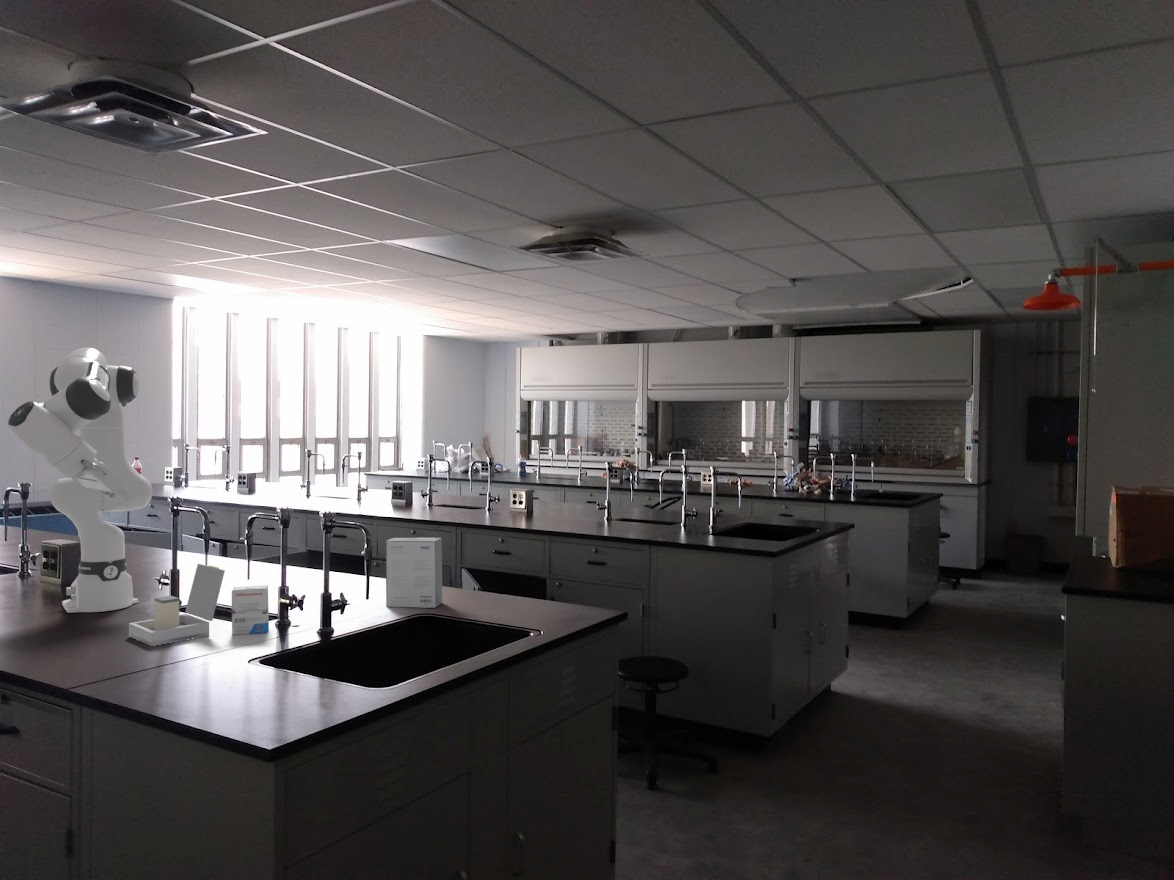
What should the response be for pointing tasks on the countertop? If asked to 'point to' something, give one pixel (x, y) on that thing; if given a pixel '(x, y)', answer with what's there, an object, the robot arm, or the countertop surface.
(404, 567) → the hard drive box
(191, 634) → the case
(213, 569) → the case lid
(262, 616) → the ink box
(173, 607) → the block
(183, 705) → the countertop surface
